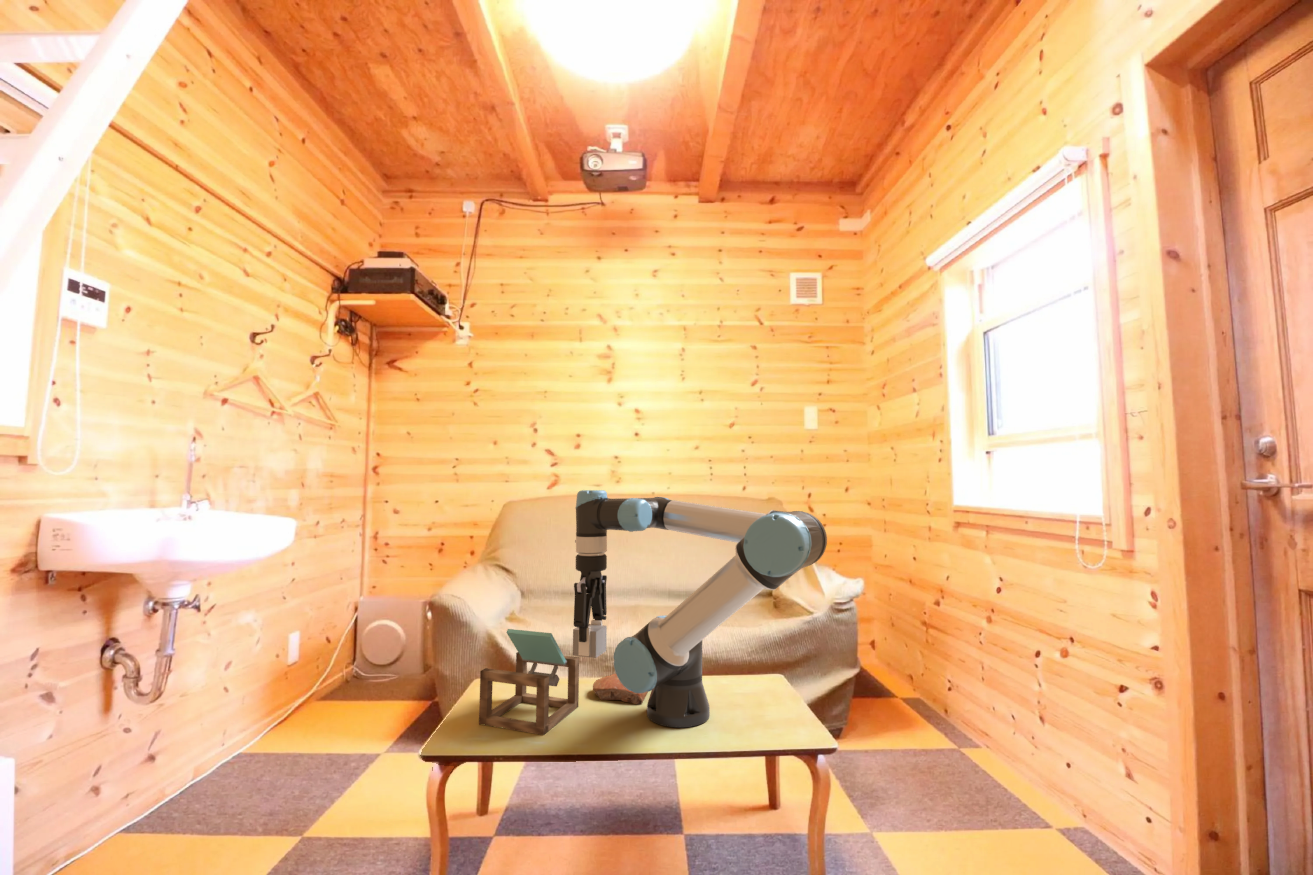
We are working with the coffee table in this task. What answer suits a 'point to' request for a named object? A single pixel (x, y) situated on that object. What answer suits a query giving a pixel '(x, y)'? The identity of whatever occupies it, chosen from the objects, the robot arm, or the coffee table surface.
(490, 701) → the frame
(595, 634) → the gray cube
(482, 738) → the coffee table surface
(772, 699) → the coffee table surface
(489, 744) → the coffee table surface
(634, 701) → the ceramic shard
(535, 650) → the trapdoor
